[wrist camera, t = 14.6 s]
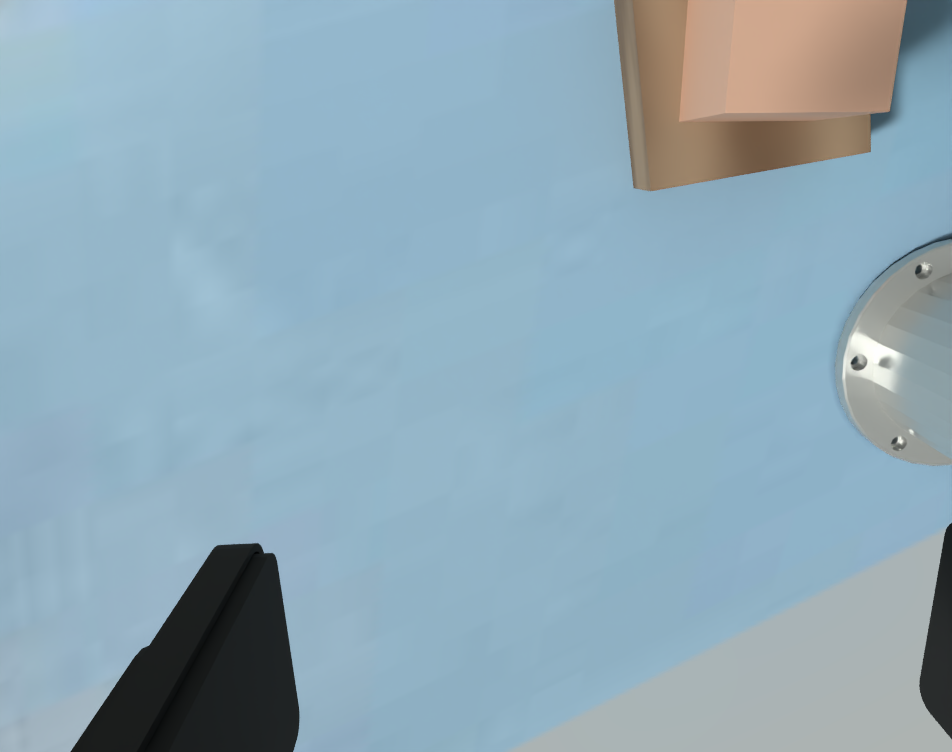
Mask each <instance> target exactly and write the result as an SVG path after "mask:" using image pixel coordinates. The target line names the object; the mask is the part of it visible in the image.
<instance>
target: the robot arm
mask: <svg viewBox="0 0 952 752" xmlns="http://www.w3.org/2000/svg"><path fill="white" fill-rule="evenodd" d="M916 267H917V269H916ZM915 270H916V271H915ZM853 358H854V359H853ZM852 359H853V361H852ZM851 361H852V362H851ZM835 377H836V387H837V391H838V395H839V399H840V403H841V405H842V407H843V409H844V411H845V413H846V415H847V417H848V419H849V421H850V422H851V423H852V424H853V426H854V427H855V428H856V429H857V430H858V432H859V433H860V434H861V435H862V436H863V437H865V438H866V439H867V440H869V441H870V442H871V443H872V444H874V445H875V446H876V447H878V448H879V449H881V450H883V451H884V452H886V453H887V454H889V455H891V456H893V457H896V458H899V459H902V460H904V461H907V462H910V463H915V464H922V465H930V466H943V465H952V239H948V240H944V241H940V242H935V243H933V244H931V245H928V246H926V247H924V248H921V249H919V250H917V251H914V252H912V253H911V254H909V255H907V256H906V257H904V258H903V259H901V260H900V261H898V262H896V263H895V264H893V265H892V266H891V267H889V268H888V269H887V270H886V271H885V272H884V273H883V274H882V275H880V276H879V277H878V278H877V279H876V280H875V281H874V282H873V283H872V284H871V285H870V286H869V288H868V289H867V290H866V291H865V293H864V294H863V295H862V296H861V298H860V299H859V300H858V301H857V303H856V305H855V307H854V308H853V310H852V312H851V314H850V315H849V317H848V319H847V321H846V323H845V326H844V329H843V331H842V334H841V337H840V340H839V343H838V348H837V355H836V361H835ZM919 686H920V693H921V696H922V699H923V702H924V704H925V706H926V708H927V709H928V711H929V712H930V714H931V715H932V716H933V717H934V718H935V720H936V721H937V722H938V723H939V724H940V725H941V727H942V728H943V729H944V730H945V732H946V733H947V734H948V735H949V736H950V738H951V739H952V523H951V524H950V525H949V526H948V527H947V529H946V532H945V536H944V542H943V548H942V553H941V559H940V565H939V571H938V577H937V582H936V588H935V594H934V600H933V606H932V612H931V618H930V624H929V629H928V635H927V641H926V647H925V653H924V658H923V665H922V670H921V676H920V685H919ZM298 730H299V705H298V698H297V692H296V685H295V678H294V672H293V665H292V658H291V652H290V645H289V638H288V632H287V625H286V618H285V612H284V605H283V598H282V591H281V585H280V578H279V571H278V565H277V560H276V557H275V555H274V554H273V553H265V554H264V552H263V549H262V547H261V545H259V544H258V543H254V544H232V545H218V546H216V547H215V548H214V549H213V550H212V552H211V553H210V555H209V556H208V558H207V559H206V561H205V562H204V564H203V565H202V567H201V568H200V570H199V571H198V573H197V574H196V576H195V577H194V579H193V580H192V582H191V583H190V585H189V586H188V588H187V589H186V591H185V592H184V594H183V595H182V597H181V598H180V600H179V601H178V603H177V605H176V606H175V608H174V609H173V611H172V612H171V614H170V615H169V617H168V618H167V620H166V621H165V623H164V624H163V626H162V627H161V629H160V630H159V632H158V633H157V635H156V636H155V638H154V639H153V641H152V642H151V644H150V645H149V646H147V647H145V648H143V649H141V650H140V652H139V653H138V654H137V655H136V656H135V657H134V659H133V660H132V662H131V663H130V665H129V666H128V668H127V669H126V671H125V672H124V673H123V675H122V676H121V678H120V679H119V681H118V682H117V684H116V685H115V687H114V688H113V690H112V691H111V693H110V694H109V696H108V697H107V699H106V700H105V702H104V703H103V705H102V706H101V707H100V709H99V710H98V712H97V713H96V715H95V716H94V718H93V719H92V721H91V722H90V724H89V725H88V727H87V728H86V730H85V731H84V733H83V734H82V736H81V737H80V739H79V740H78V742H77V743H76V744H75V746H74V747H73V749H72V750H71V752H293V750H294V747H295V744H296V740H297V736H298Z"/></svg>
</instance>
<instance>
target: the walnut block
mask: <svg viewBox="0 0 952 752" xmlns="http://www.w3.org/2000/svg"><path fill="white" fill-rule="evenodd" d="M614 4H615V13H616V23H617V32H618V42H619V52H620V61H621V71H622V81H623V90H624V100H625V109H626V119H627V129H628V138H629V148H630V158H631V167H632V177H633V186H634V188H636V189H641V190H647V191H655V190H660V189H666V188H672V187H677V186H683V185H688V184H694V183H700V182H705V181H711V180H716V179H722V178H728V177H733V176H739V175H744V174H750V173H756V172H761V171H767V170H772V169H778V168H783V167H789V166H795V165H800V164H806V163H811V162H817V161H823V160H828V159H834V158H839V157H845V156H851V155H856V154H862V153H867V152H871V116H870V114H866V115H858V116H849V117H841V118H832V119H824V120H816V121H732V122H679V116H680V102H681V88H682V75H683V61H684V47H685V33H686V20H687V6H688V0H614Z"/></svg>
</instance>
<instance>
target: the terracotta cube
mask: <svg viewBox="0 0 952 752" xmlns="http://www.w3.org/2000/svg"><path fill="white" fill-rule="evenodd" d="M906 4H907V0H688V6H687V20H686V33H685V47H684V61H683V75H682V88H681V102H680V116H679V122H732V121H816V120H824V119H832V118H841V117H849V116H858V115H866V114H874V113H883V112H890V106H891V100H892V93H893V87H894V80H895V74H896V68H897V61H898V55H899V48H900V42H901V36H902V29H903V23H904V16H905V10H906Z"/></svg>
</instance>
